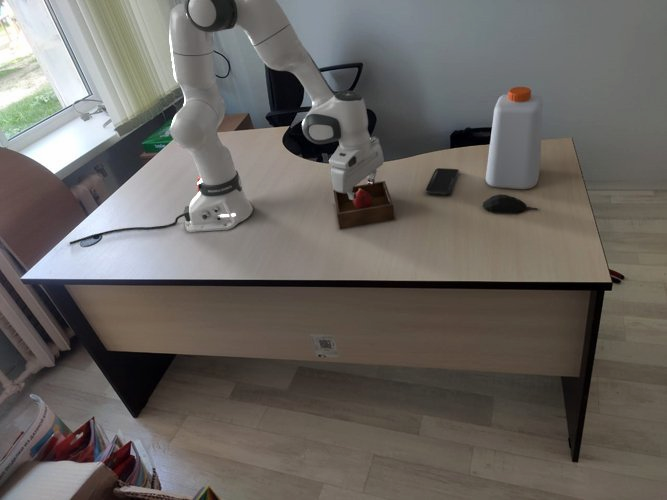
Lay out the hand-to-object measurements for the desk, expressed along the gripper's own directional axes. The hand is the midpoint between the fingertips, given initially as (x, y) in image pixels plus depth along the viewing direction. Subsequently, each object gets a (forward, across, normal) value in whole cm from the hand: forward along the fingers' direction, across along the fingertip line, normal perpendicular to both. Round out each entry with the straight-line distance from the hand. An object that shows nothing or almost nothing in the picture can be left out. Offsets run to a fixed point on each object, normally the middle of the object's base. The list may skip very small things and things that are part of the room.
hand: (362, 191), depth 143 cm
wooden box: (+7, 0, 0) cm, 7 cm away
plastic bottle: (+8, -37, +30) cm, 48 cm away
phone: (+8, -25, +13) cm, 29 cm away
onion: (+7, 0, 0) cm, 7 cm away
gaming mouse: (+8, -20, +37) cm, 43 cm away
